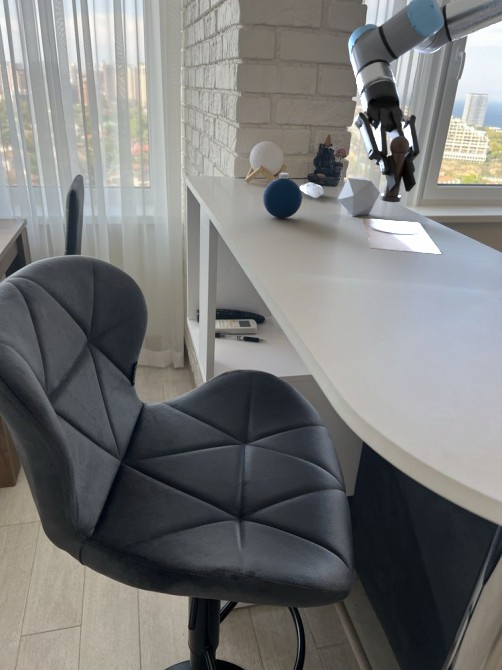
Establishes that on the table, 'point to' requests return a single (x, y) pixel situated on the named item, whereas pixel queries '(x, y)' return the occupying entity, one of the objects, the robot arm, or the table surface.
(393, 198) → the dot stamp
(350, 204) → the die
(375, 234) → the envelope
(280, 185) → the christmas ornament
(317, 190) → the pincushion
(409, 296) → the table surface
